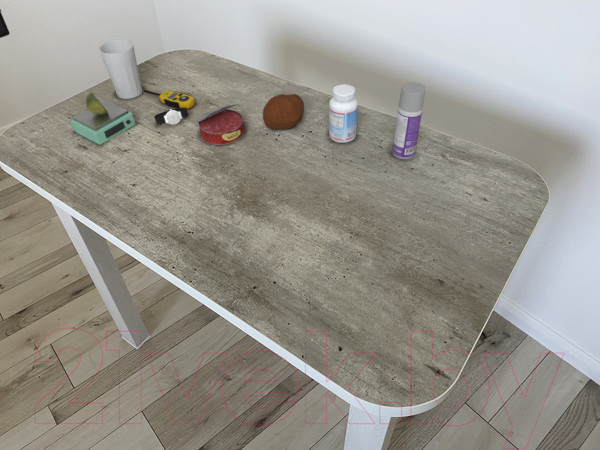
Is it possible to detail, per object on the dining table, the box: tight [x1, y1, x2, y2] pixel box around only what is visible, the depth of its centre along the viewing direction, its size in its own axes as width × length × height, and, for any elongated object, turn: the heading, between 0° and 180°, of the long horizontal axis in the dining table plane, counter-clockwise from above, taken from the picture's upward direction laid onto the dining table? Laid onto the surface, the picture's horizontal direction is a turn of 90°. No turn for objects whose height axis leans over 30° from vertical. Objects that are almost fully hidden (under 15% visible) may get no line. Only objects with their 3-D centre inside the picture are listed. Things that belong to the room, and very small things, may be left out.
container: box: [391, 81, 426, 160], centre depth 96 cm, size 5×5×15 cm
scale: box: [70, 111, 136, 146], centre depth 110 cm, size 10×9×3 cm
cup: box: [98, 38, 143, 100], centre depth 118 cm, size 8×8×12 cm
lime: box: [85, 92, 108, 115], centre depth 106 cm, size 4×5×5 cm
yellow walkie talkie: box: [143, 89, 196, 110], centre depth 119 cm, size 5×2×15 cm
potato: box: [262, 93, 305, 131], centre depth 107 cm, size 8×11×8 cm
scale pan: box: [72, 100, 130, 131], centre depth 108 cm, size 9×8×1 cm
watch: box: [154, 108, 189, 125], centre depth 111 cm, size 8×5×4 cm, turn 118°
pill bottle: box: [328, 83, 359, 144], centre depth 102 cm, size 6×6×11 cm
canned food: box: [196, 103, 245, 146], centre depth 106 cm, size 11×10×10 cm
